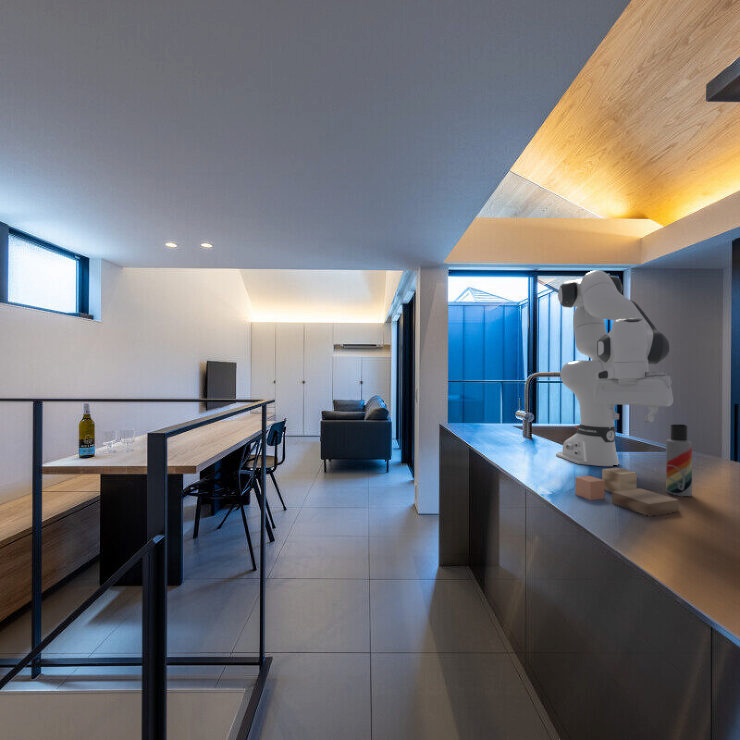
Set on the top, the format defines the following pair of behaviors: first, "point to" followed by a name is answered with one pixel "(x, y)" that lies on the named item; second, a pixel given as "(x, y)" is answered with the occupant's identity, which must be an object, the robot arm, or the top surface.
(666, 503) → the walnut base
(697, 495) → the top surface
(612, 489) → the oak cube
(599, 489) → the terracotta block
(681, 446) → the lotion bottle
